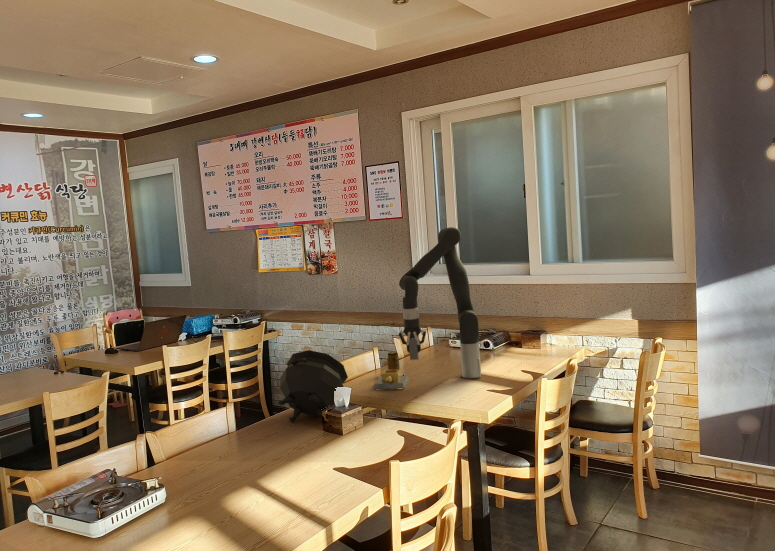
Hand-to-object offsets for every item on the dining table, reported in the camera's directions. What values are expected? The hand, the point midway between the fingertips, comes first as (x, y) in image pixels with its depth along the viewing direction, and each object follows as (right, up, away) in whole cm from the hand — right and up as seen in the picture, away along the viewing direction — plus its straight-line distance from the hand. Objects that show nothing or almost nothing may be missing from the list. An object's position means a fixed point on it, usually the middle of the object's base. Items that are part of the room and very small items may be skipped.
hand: (414, 352), depth 283 cm
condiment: (-9, -15, +23) cm, 29 cm away
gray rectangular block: (0, -3, 0) cm, 3 cm away
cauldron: (-43, -23, -36) cm, 61 cm away
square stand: (-11, -17, +4) cm, 20 cm away
